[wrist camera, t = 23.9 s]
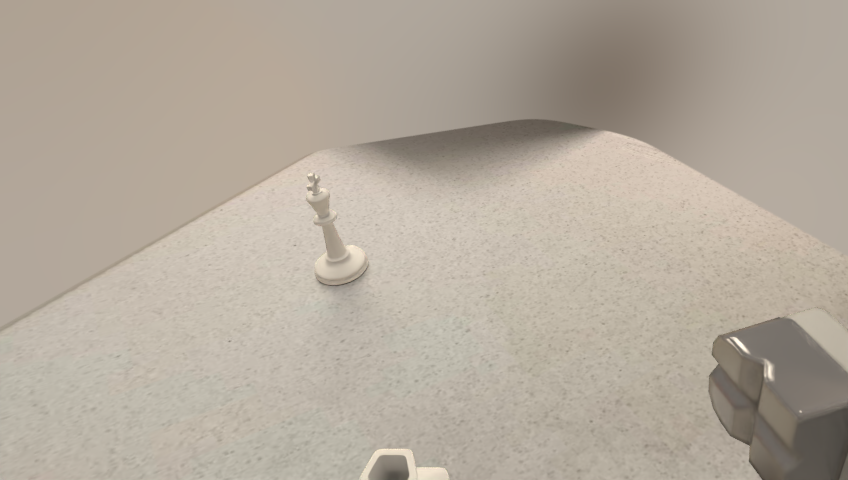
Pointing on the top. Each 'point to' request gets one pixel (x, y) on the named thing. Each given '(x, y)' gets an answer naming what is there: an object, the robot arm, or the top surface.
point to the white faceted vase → (399, 467)
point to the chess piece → (333, 241)
